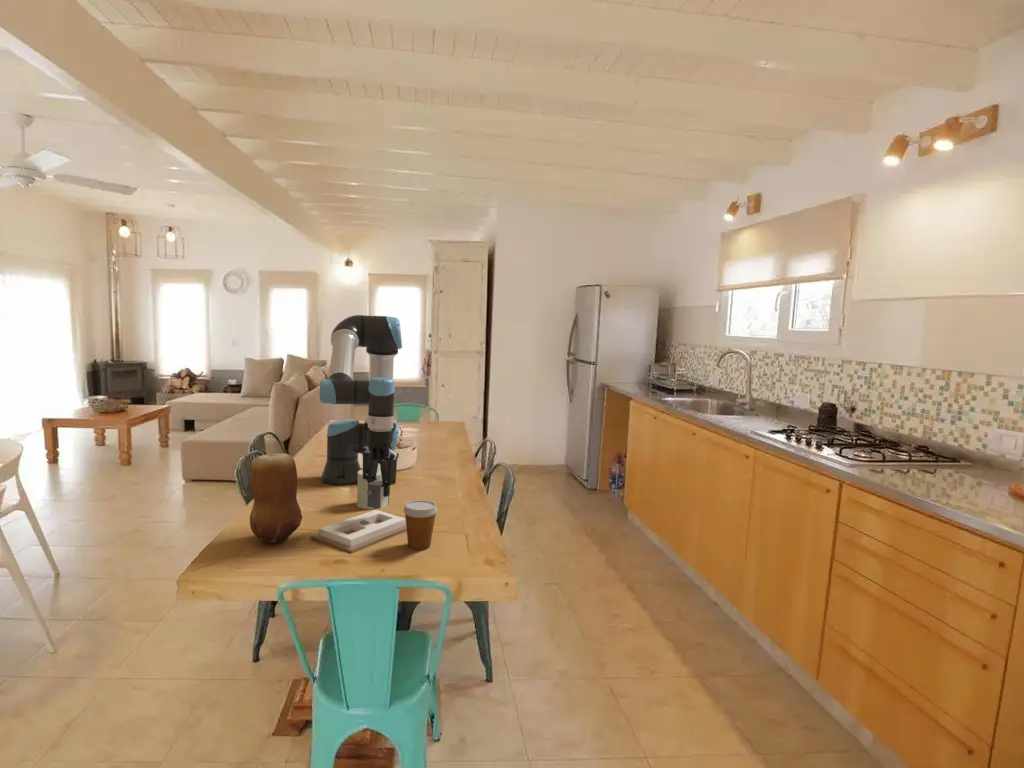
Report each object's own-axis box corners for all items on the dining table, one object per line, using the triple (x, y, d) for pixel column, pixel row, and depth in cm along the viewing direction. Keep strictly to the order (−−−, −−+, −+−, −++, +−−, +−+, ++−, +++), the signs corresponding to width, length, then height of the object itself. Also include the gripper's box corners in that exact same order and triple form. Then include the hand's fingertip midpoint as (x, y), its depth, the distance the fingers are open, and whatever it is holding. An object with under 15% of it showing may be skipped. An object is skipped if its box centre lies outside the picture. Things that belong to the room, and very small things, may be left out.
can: (389, 503, 200) (390, 469, 199) (374, 511, 191) (375, 475, 190) (366, 499, 203) (367, 465, 202) (351, 506, 194) (351, 472, 193)
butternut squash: (263, 530, 170) (263, 447, 167) (308, 533, 169) (309, 449, 167) (239, 549, 156) (239, 458, 153) (288, 552, 156) (289, 461, 153)
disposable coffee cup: (404, 539, 169) (405, 499, 168) (436, 539, 170) (438, 500, 168) (400, 552, 160) (401, 510, 158) (435, 552, 160) (437, 511, 159)
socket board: (310, 537, 166) (310, 526, 166) (374, 515, 187) (374, 505, 187) (351, 553, 157) (352, 541, 157) (414, 527, 178) (414, 517, 178)
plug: (362, 507, 173) (363, 484, 172) (379, 502, 179) (380, 480, 178) (372, 510, 171) (373, 487, 170) (388, 505, 177) (389, 482, 176)
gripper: (351, 426, 175) (349, 501, 177) (392, 435, 166) (390, 514, 168) (369, 423, 181) (367, 496, 183) (410, 431, 172) (407, 507, 174)
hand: (378, 504), depth 176 cm, fingers closed on plug, 4 cm apart
